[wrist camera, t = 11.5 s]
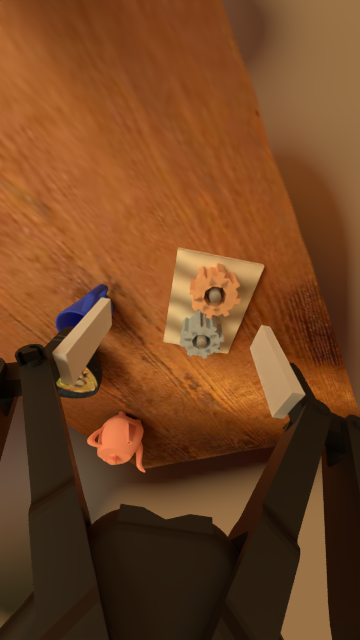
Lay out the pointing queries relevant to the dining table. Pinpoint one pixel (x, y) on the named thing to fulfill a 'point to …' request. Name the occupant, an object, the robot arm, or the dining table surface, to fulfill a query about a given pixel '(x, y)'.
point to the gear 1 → (217, 279)
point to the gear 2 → (201, 327)
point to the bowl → (83, 381)
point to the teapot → (119, 440)
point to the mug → (81, 308)
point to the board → (185, 299)
